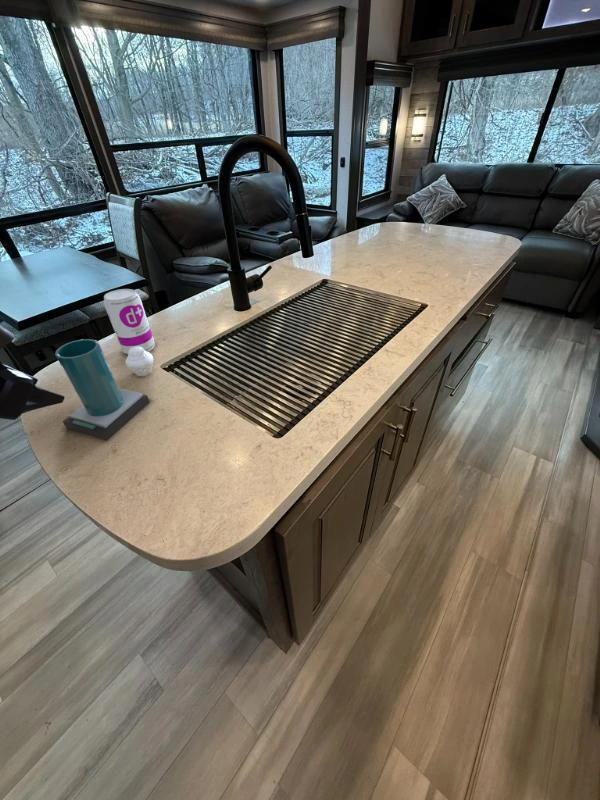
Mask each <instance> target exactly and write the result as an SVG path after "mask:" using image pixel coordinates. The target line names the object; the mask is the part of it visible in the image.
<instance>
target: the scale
mask: <svg viewBox="0 0 600 800" xmlns="http://www.w3.org/2000/svg"><path fill="white" fill-rule="evenodd" d="M118 388H119V390H120V392H121V395H122V398H123V405H122V406H121V407H120V408H119V409H118V410H116V411H115V412H113V413H111V414H108V415H105V416H91V415H89V414H88V413H87V411H86V410H85V408H84V406H83V405H81V406H80V407H79V408H77V409H76V410H74V411H73V412H72V413H70V414H69V415H68V416H67V418H65V419H64V420H62V423H63V425H64V426H65V428H66V430H70V431H72V432H76V433H79V434H82V435H86V436H90V437H93V438H96V439H100V440H103V441H109V440H110V439H111V438H113V436H114V435H115V434H117V432H119V431H120V430H121V429H122V428H123V427H124V426H125V425H127V424H128V423H129V422H130V421H131V420H132V419H134V418H135V416H137V414H139V413H140V412H141V411H143V409H144V408H146V407H147V406H148V405H149V404H150V403H151V401H150V400H149V397H148V395H147V394H144V393H141V392H137V391H134V390H129V389H125V388H120V387H118Z"/></svg>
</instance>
